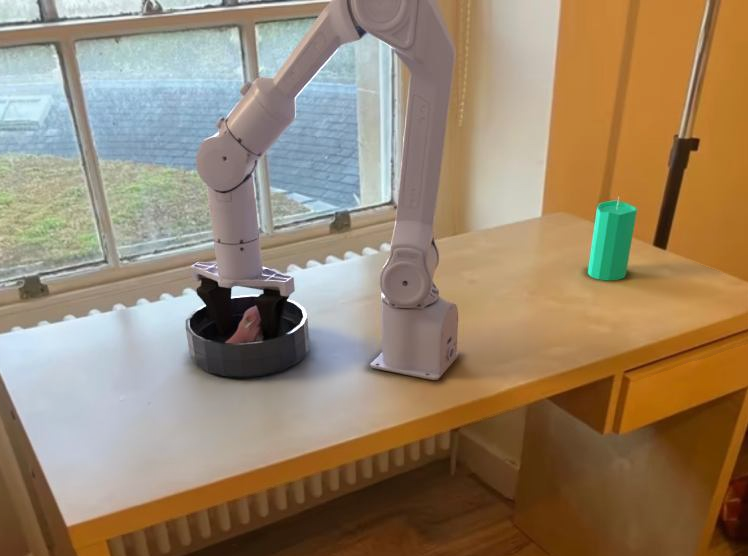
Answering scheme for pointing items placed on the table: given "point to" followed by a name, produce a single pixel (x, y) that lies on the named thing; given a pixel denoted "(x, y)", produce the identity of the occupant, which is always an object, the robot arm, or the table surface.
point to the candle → (612, 240)
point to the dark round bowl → (251, 356)
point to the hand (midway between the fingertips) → (248, 338)
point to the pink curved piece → (249, 328)
